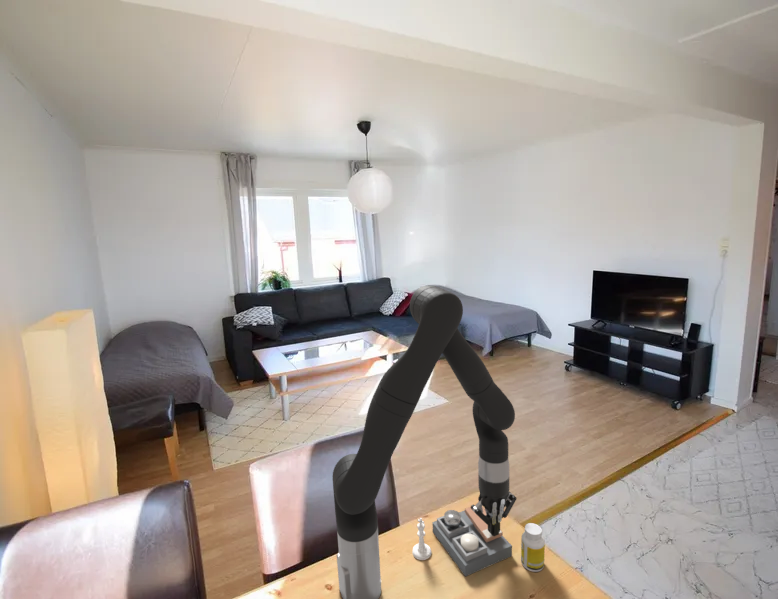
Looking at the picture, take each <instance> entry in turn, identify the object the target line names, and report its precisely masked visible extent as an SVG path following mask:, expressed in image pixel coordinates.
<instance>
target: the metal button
mask: <svg viewBox="0 0 778 599" xmlns="http://www.w3.org/2000/svg"><path fill="white" fill-rule="evenodd" d="M443 516H444V523H445V525H446V526H447V527H449V528H457V527H459V526H460V525H461V515H460V513H459V511H458V510H455V509H448V510H447V511H445V512H444V514H443Z"/></svg>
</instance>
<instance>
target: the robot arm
mask: <svg viewBox="0 0 778 599" xmlns="http://www.w3.org/2000/svg"><path fill="white" fill-rule="evenodd" d="M409 310H410V311H409V312H410V314H411V316H412V319H414V321H415V322H416V323H417V324H418V327H417V329H416V331H415V334H414V336H413V338H412V340H411V342H410V345H409V347H408V348H407V349H406V351H405V352H404V353H403V354H402V355H401V356H400V357H399V358H398V360H396V361H395V362H394V363H393V364H392V365H391V366H390V367H389V368H388V369H387V371H386V372H384V374H383V376H381V379H380V380H379V383H378V385H377V387H376V388H375V391H374V394H373V396H372V398H371V401H370V404H369V406H368V410H367V414H366V418H365V423H364V428H363V433H362V436H361V441H360V445H359V447H358V448H359V449H358V450H357V452H356V453H349V454H346V455H344V456H342V458H340V459H339V460H338V462H336V464H335V465H334V468H333V471H332V490H333V499H334V502H333V504H334V514H335V523H336V533H337V546H338V553H337V554H336V562H337V563H336V564H337V577H338V588H339V592H340V595H341V598H342V599H380V597H381V593H382V579H381V577H382V576H381V561H380V558H381V557H380V544H379V541H380V540H379V522H378V513H377V505H376V499H377V497H378V494H379V492H380V489H381V486H382V483H383V481H384V477H385V474H386V472H387V469H388V466H389V463H390V461H391V459H392V456H393V454H394V453H395V450H396V448H397V447H398V445H399V442H400V440H401V437H402V435H403V433H404V432H405V429H406V427H407V425H408V424H409V421H410V420H411V418H412V415H413V414H414V412H415V409H416V407H417V405H418V403H419V401H420V398H421V396H422V394H423V392H424V390H425V387H426V385H427V383H428V381H429V379H430V377H431V375H432V373H433V371H434V369H435V367H436V365H437V363H438V362H439V360H440V358H441V356H442V355H443V357H444V359H445V360H446V362H447V364H448V365H449V366H450V369H451V370H452V371H453V374H454V375H455V378H456V379H457V380H458V382H459V384H460V386H461V387H462V389H463V391H464V392H465V394H466V395H467V396H468V397H469V399H471V400H472V401H473V404H472V417H473V422H474V426H475V429H476V430H475V431H476V433H477V436H478V462H477V464H478V465H477V466H478V468H477V469H478V472H477V476H478V477H477V478H478V490H479V495H478V498H477V500H478V502H477V503H476V504H471V505H470V507H471V509H472V510H473V511H474V512H475V513H476V514H477V515H478V516H479V517H480V518H481V519H482V520H483V521H484V522H485V523H486V524H487V525H488V531H489V532H490V534H491V535H493V536H496V535H499V532H500V530H501V522H502V519H506V518H507V517H508V516H509V513H510V512H511V510H512V509H513V507H514V504H515V503H516V501H517V497H516V496H515V495H514V493H513V492H511V491H510V461H509V439H508V436H507V435H506V433H505V432H504V431H506V430H508V429H510V428H511V427H512V426H513V424H514V422H515V419H516V413H515V412H516V411H515V408H514V405H513V404H512V402H511V400H510V399H509V398H508V397H507V395H506V394H505V393H504V392H503V390H502V389H501V388H500V387H499V386H498V385H497V384H496V383H495V381H494V380H493V377H492V376H491V373H490V372H489V370H488V369H487V367H486V365H485V363H484V362H483V360H482V359H481V357H480V356H479V355H478V353H477V352H476V351H475V349H474V348H473V347H472V346H471V345H470V343H469V342H468V340H466V338H465V337H464V336H463V334H462V333H461V331H460V330H459V329H458V328H459V326H460V323H461V321H462V319H463V315H464V314H463V313H464V307H463V303H462V301H461V299H460V297H459V296H457V295H456V294H455V293H453V292H451V291H448V290H446V289H444V288H442V287H438V286H437V285H436V286H435V285H423V286H420V287H419V288H418V289H416V290H415V291H414V292H413V294H412V296H411V298H410V300H409ZM482 506H483V508H484V509H485V511H486V515H484V514H483V509H482ZM504 508H505V509H504Z"/></svg>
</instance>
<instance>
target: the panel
mask: <svg viewBox="0 0 778 599" xmlns="http://www.w3.org/2000/svg"><path fill="white" fill-rule="evenodd" d="M458 512H459V511H458ZM459 513H460V515H461V525H460V526H459V527H457V528H449V527H447V526H446V525H445V523H444V515H443V516H439V517H437V518H436V520H435V521H432V522H431V523H432V524H431V525H432V533H433V535H434V536H435V537H436V539H437V540H438V541H439V543H440V544H441V545H442V547H443V548H444V550H445V551H446V552H447V553H448V555H449V557H450V558H451V559H452V560H453V562H454V563H455V564H456V566H457V567H458V569H459V570H460V571H461V573H462V574H463V576H464V577H467V576H470V575H472V574H474V573H477V572H479V571H481V570H483V569H485V568H488V567H490V566H492V565H495V564H497V563H500V562H501V561H503V560H506V559H508V558H511V557H512V556H513V545H512V544H511V543H510V542H509V540H508V539H506V537H504V535H502V536H501V537H499V538H496V539H494V540H491V541H489V542H487V543H486V541H485V540H484V539H483V537H482V536H481V534H480V533H479V532H478V530H477V529H476V527H475V526H474V525H473V523H472V522H471V520H470V519H469V518H468V516H467V515H466V513H465V509H464V510H462V511H460V512H459ZM464 534H473V535H475V536H476V537H477V538H478V541H479V549H477V550H474V551H472V552H470V553H466V552H465V551H464V549H463V548H462V547H461V537H462V536H463V535H464Z"/></svg>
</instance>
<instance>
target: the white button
mask: <svg viewBox="0 0 778 599" xmlns="http://www.w3.org/2000/svg"><path fill="white" fill-rule="evenodd" d="M461 547H462V548H463V549H464V551H465V552H466V553H470V552H472V551H474V550H477V549H479V541H478V538H477V537H476V536H475V535H473V534H464V535H463V536H462V537H461Z"/></svg>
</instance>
